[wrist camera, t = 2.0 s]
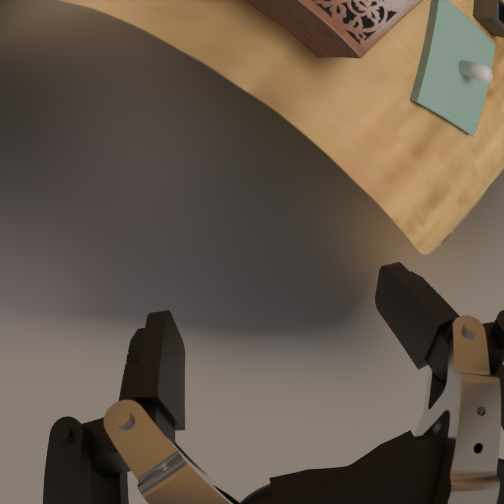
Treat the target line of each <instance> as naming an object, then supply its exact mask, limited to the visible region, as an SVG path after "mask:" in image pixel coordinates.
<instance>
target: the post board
mask: <svg viewBox="0 0 504 504" xmlns="http://www.w3.org/2000/svg"><path fill="white" fill-rule="evenodd" d="M494 53H495V44H494V43H493V42H492V41H491V40H490V39H489V38H488V37H487V36H486V35H485V34H484V33H483V32H482V31H481V30H480V29H479V28H478V27H477V26H476V25H475V24H474V23H473V22H472V21H471V20H470V19H469V18H468V17H467V16H466V15H465V14H464V13H462V12H461V11H460V10H459V9H458V8H457V7H455V6H454V5H453V4H452V3H451V2H449V1H448V0H432V2H431V9H430V15H429V21H428V27H427V32H426V38H425V42H424V47H423V52H422V56H421V61H420V65H419V69H418V73H417V77H416V81H415V85H414V88H413V92H412V95H411V99H410V100H412V101H414V102H416V103H418V104H420V105H421V106H423V107H425V108H427V109H429V110H430V111H432V112H434V113H436V114H437V115H439V116H441V117H442V118H444V119H446V120H447V121H449V122H451V123H452V124H454V125H455V126H457V127H458V128H460V129H461V130H463V131H464V132H466V133H467V134H469V135H471V136H473V137H474V135H475V132H476V129H477V126H478V123H479V120H480V116H481V113H482V109H483V105H484V102H485V98H486V94H487V90H488V85H489V84H490V83H491V82H492V80H493V74H492V65H493V59H494Z"/></svg>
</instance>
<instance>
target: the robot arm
mask: <svg viewBox="0 0 504 504" xmlns="http://www.w3.org/2000/svg"><path fill="white" fill-rule="evenodd" d="M375 303H376V307H377V310H378V311H379V313H380V314H381V316H382V317H383V318H384V320H385V321H386V323H387V324H388V326H389V327H390V328H391V330H392V331H393V333H394V334H395V335H396V337H397V338H398V340H399V341H400V343H401V344H402V346H403V347H404V348H405V350H406V352H407V353H408V355H409V356H410V358H411V359H412V361H413V362H414V364H415V365H416V367H417V368H418V369H421V368H423V367H425V366H427V365H429V366H430V368H431V369H430V371H429V374H428V383H427V391H426V398H425V405H424V411H423V416H422V418H421V421H420V422H419V424H418V427H417V429H416V432H415V436H413V434H412V432H411V430H410V431H408V432H406V433H404V434H402V435H400V436H398V437H396V438H394V439H392V440H389V441H387V442H385V443H383V444H381V445H379V446H378V447H376V448H375V449H373V450H372V451H371V452H369V453H368V454H366V455H365V456H363V457H362V458H360V459H359V460H357V461H356V462H354V463H353V464H351V465H349V466H345V467H337V468H325V469H310V470H309V469H308V470H304V471H300V472H296V473H291V474H287V475H282V476H277V477H272V478H270V484H268V485H266V486H263V487H262V488H260V489H258V490H256V491H254V492H253V493H251V494H250V495H248V496H247V497H246V498H245V499H244V500H242V501H241V502H239V501H238V500H237V499H236V498H235V497H233V496H232V495H231V494H230V493H228V492H227V491H226V490H225V489H224V488H223V487H221V486H220V485H219V484H218V483H217V482H216V481H214V480H213V479H212V478H211V477H209V475H208V474H207V473H205V472H204V471H203V470H202V469H201V468H200V467H199V466H198V465H197V464H196V463H195V462H194V461H193V460H192V459H191V458H190V457H189V456H188V454H187V453H186V452H185V451H184V450H183V449H182V448H181V447H180V446H179V445H178V444H177V443H176V442H175V430H185V408H184V407H185V398H184V397H185V394H184V393H185V349H184V344H183V340H182V337H181V335H180V333H179V331H178V329H177V326H176V324H175V322H174V319H173V317H172V314H171V312H170V311H169V310H166V311H160V312H153V313H149V314H148V316H147V321H146V326H145V328H141V329H138V330H137V331H136V333H135V334H134V336H133V337H132V339H131V341H130V346H129V350H128V352H129V354H128V355H127V360H126V362H127V363H126V365H125V369H124V375H123V380H122V385H121V391H120V397H119V401H118V402H116V403H114V404H113V405H112V406H111V407H110V408H109V409H108V410H107V412H106V414H105V416H104V418H101V419H97V420H94V421H91V422H87V423H83V424H81V423H80V422H79V421H77V420H76V419H75V418H73V417H63V418H60V419H59V420H57V421H56V422H55V423H54V425H53V427H52V429H51V432H50V437H49V444H48V451H47V458H46V467H45V477H44V491H43V492H44V494H43V504H129V503H128V483H127V472H129V471H132V472H133V474H134V475H135V477H136V478H137V479H138V482H139V484H138V489H139V491H140V493H141V494H142V496H143V497H144V498H145V500H146V501H147V502H148V503H149V504H504V460H503V459H500V458H498V456H499V446H500V431H501V426H502V428H503V430H504V365H503V362H504V310H503V311H501V312H500V313H499V314H498V316H497V318H496V320H495V322H491V323H485V324H481V323H480V321H479V320H477V319H476V318H474V317H471V316H466V315H465V316H459V315H458V314H457V313H456V312H455V311H454V310H453V309H452V308H451V306H450V305H449V304H448V303H447V302H446V301H445V300H444V299H443V298H442V297H441V296H440V295H439V294H438V293H436V291H435V290H434V289H433V288H432V287H430V285H429V284H428V283H427V282H426V281H425V280H424V279H423V278H422V277H421V276H419V275H417V274H415V273H413V272H412V271H411V272H409V271H408V270H407V269H406V268H405V267H404V266H403V265H402V264H401V263H400V262H396V263H392V264H389V265H384V266H382V267H381V268H380V270H379V277H378V283H377V289H376V295H375Z"/></svg>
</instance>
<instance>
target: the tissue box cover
mask: <svg viewBox="0 0 504 504" xmlns="http://www.w3.org/2000/svg"><path fill="white" fill-rule="evenodd" d="M245 1H246V2H248V3H249V4H251V5H252V6H254V7H255V8H257V9H258V10H260V11H261V12H263V13H264V14H266V15H267V16H268V17H270V18H271V19H273V20H274V21H275V22H277V23H278V24H279V25H281V26H282V27H283V28H285V29H286V30H287V31H289V32H290V33H291V34H292V35H294V36H295V37H296V38H297V39H299V40H300V41H301V42H302V43H303V44H305V45H306V46H307V47H308V48H309V49H310V50H311V51H313V52H314V53H315V54H316V55H317V56H318V57H347V58H362V57H363V56H364V55H365V54H366V53H367V52H368V51H369V50H370V49H371V48H372V47H373V46H374V45H375V44H376V43H377V42H378V41H379V40H380V39H381V38H382V37H383V36H384V35H385V34H386V33H387V32H388V31H390V30H391V29H392V28H393V27H394V26H395V25H396V24H397V23H398V22H399V21H400V20H401V19H402V18H404V17H405V16H406V15H407V14H408V13H409V12H410V11H411V10H412V9H414V8H415V7H416V6H417V5H418V4H419V3H420V2H421V1H423V0H245Z"/></svg>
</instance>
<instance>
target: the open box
mask: <svg viewBox="0 0 504 504" xmlns="http://www.w3.org/2000/svg"><path fill="white" fill-rule="evenodd" d="M473 16H474V17H475V18H476V19H477V20H478V21H479V22H480V23H481V24H482V25H483V26H484V27H485V28H486V29H487V30H488V31H489V33H490V34H491V35H494V36H498V37H503V38H504V2H503V1H502V0H474V12H473Z"/></svg>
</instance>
